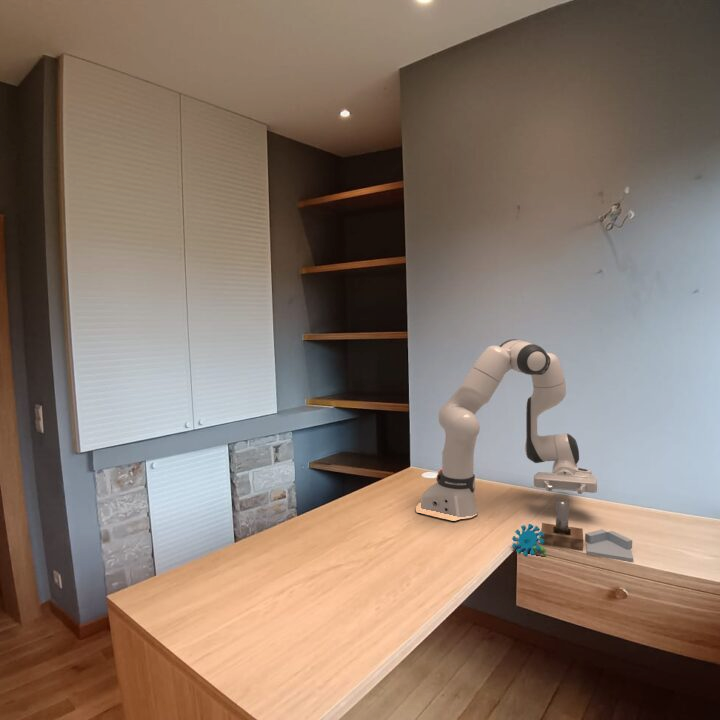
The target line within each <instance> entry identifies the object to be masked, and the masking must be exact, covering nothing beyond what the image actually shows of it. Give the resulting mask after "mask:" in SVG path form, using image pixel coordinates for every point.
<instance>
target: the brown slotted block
mask: <svg viewBox="0 0 720 720" xmlns="http://www.w3.org/2000/svg"><path fill="white" fill-rule="evenodd" d="M583 529H584V528H582V527H581V528H580V527H574V526H568V535H563V534H557V533H556V524H555V523H554V524H553V523H546V522H541V528H540V531H542V532H543V533H544V536H543V537H541V536H540V539H541V538H542V539H544V540H545V542H544V544H543V545H544V546H552V547H555V548H556V547H558V548H563V549H564V548H565V549H569V550H574V551H575V550H576V551H582V552H583V551H584V530H583Z"/></svg>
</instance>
